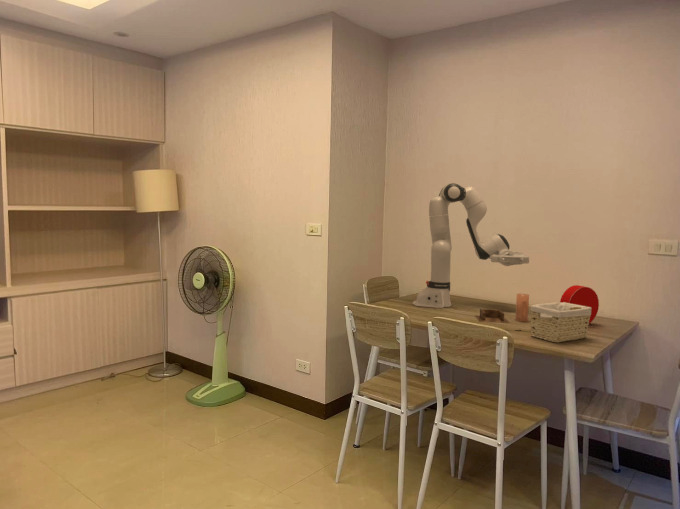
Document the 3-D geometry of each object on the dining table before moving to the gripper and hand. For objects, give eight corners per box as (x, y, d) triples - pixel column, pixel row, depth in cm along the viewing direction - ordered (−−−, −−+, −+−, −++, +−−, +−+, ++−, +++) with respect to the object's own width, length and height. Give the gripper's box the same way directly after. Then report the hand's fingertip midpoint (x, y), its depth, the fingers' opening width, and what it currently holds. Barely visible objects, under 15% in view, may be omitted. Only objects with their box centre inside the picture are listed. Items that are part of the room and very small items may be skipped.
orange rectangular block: (517, 323, 261) (519, 296, 260) (514, 320, 269) (515, 293, 268) (530, 324, 260) (531, 296, 259) (526, 320, 268) (527, 293, 267)
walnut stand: (479, 324, 260) (479, 313, 260) (474, 317, 275) (474, 307, 275) (510, 325, 259) (510, 315, 259) (503, 318, 274) (504, 309, 273)
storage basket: (560, 331, 251) (562, 300, 249) (591, 339, 237) (593, 307, 235) (526, 336, 238) (528, 304, 237) (557, 345, 224) (560, 311, 223)
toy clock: (588, 322, 271) (590, 284, 269) (597, 325, 265) (600, 286, 263) (558, 324, 263) (560, 285, 262) (566, 327, 258) (569, 287, 256)
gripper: (488, 251, 295) (493, 254, 282) (525, 253, 294) (532, 255, 280) (487, 262, 296) (492, 265, 282) (524, 264, 294) (531, 267, 280)
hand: (512, 260), depth 281 cm, fingers open, 8 cm apart
